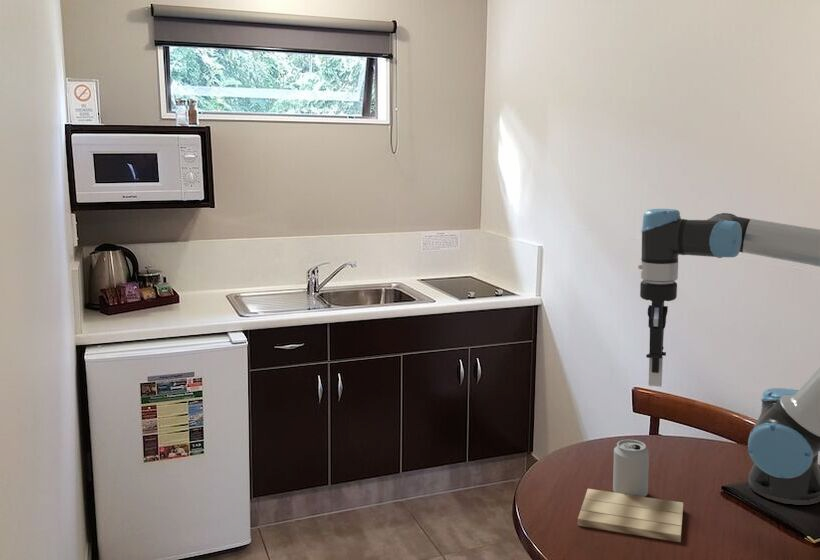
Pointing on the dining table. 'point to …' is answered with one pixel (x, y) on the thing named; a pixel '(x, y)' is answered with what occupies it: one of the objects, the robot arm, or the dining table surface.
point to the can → (631, 468)
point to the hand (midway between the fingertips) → (655, 384)
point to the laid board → (630, 525)
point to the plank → (633, 506)
